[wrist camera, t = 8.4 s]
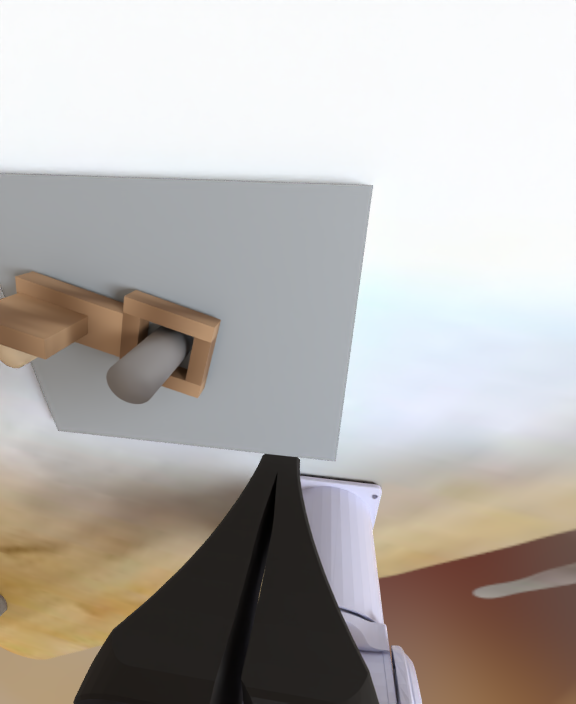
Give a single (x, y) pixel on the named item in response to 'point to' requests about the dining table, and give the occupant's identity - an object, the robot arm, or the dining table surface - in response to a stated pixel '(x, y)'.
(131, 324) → the brown wooden blocky piece
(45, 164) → the dining table surface
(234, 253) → the base board
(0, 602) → the coffeepot
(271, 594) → the robot arm
